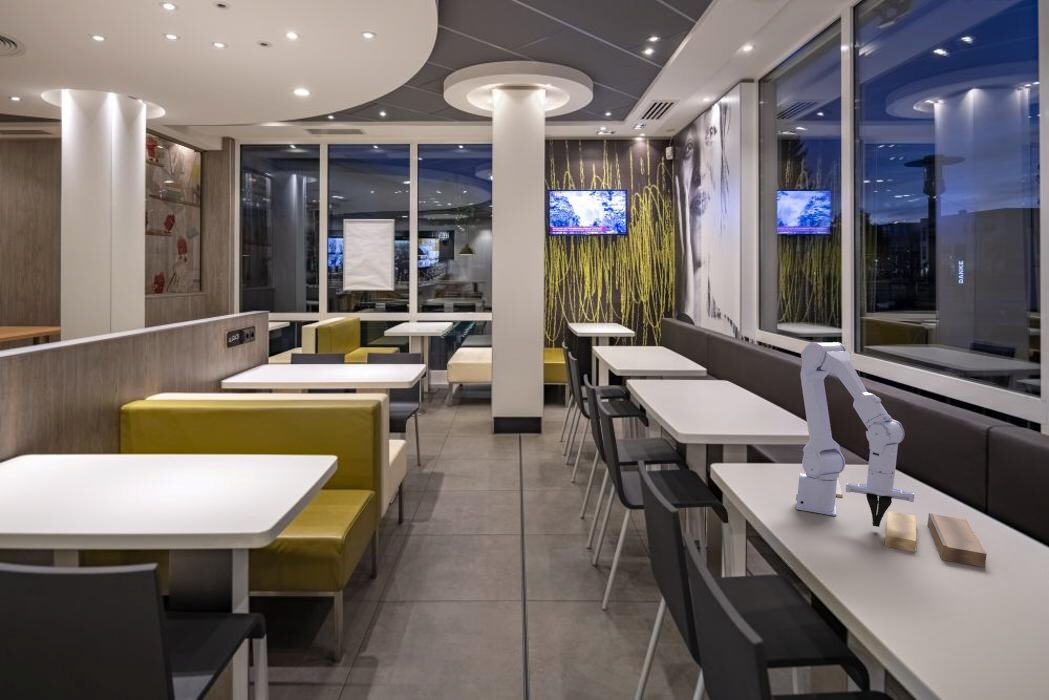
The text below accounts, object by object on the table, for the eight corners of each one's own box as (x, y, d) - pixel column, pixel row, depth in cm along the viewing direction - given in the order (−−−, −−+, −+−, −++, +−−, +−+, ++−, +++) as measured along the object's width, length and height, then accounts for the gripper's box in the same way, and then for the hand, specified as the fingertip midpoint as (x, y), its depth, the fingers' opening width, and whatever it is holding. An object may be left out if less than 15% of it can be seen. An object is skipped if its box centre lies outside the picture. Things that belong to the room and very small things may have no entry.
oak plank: (884, 547, 154) (885, 535, 154) (886, 522, 172) (888, 510, 171) (914, 554, 151) (916, 541, 151) (914, 527, 169) (915, 515, 168)
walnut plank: (941, 559, 148) (943, 545, 147) (927, 525, 170) (928, 512, 169) (984, 567, 145) (986, 553, 144) (964, 531, 166) (966, 518, 166)
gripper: (848, 469, 161) (843, 524, 163) (918, 479, 155) (911, 536, 157) (847, 462, 168) (842, 515, 169) (914, 472, 162) (908, 526, 163)
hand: (875, 525), depth 163 cm, fingers closed
